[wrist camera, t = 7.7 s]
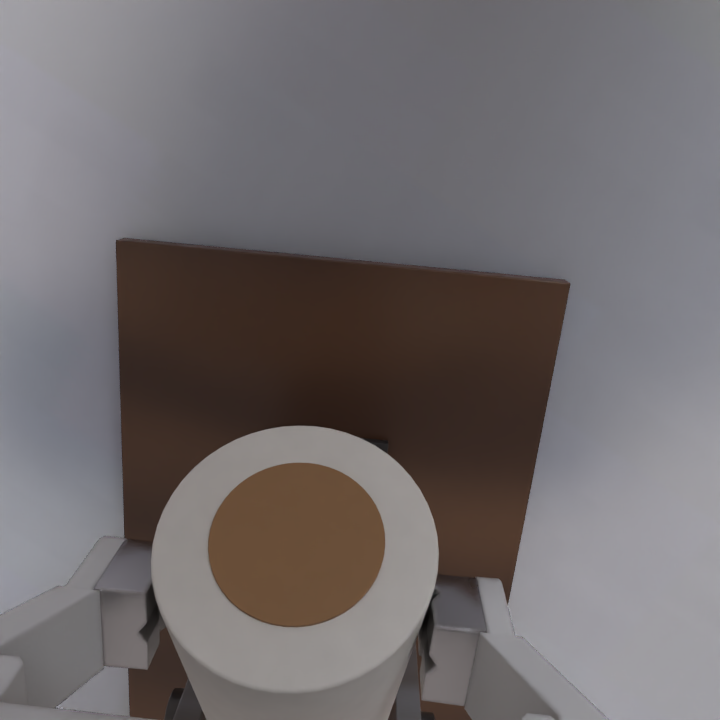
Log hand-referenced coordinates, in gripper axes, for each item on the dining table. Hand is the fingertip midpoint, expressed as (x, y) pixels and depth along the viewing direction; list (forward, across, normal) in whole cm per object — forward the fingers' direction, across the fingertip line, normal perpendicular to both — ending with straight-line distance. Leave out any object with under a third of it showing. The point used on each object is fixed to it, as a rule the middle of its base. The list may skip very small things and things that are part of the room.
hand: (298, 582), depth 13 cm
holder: (+8, 0, +6) cm, 10 cm away
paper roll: (+5, 0, +10) cm, 11 cm away
